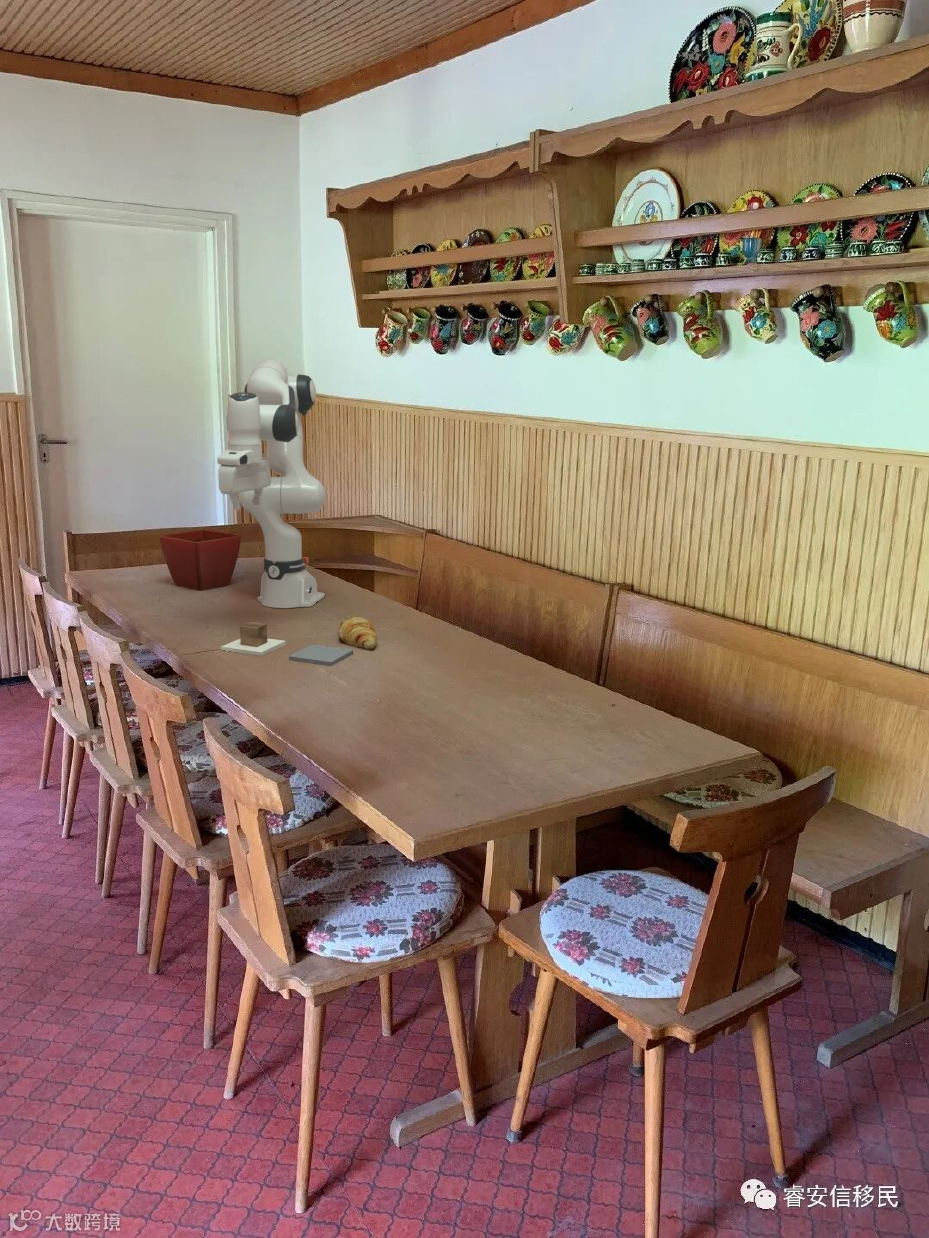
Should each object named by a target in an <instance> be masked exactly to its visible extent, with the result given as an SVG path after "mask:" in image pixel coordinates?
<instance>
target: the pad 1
mask: <svg viewBox="0 0 929 1238" xmlns="http://www.w3.org/2000/svg"><path fill="white" fill-rule="evenodd" d="M286 643H287V641H286V640H283V639H282V640H281V639H276V638H275V639H274V638H268V637H267V643H265V644H263V645H261V646H259V647H252V646H245V645H241V643H240V638H238V639H236V640H234V641H232V642H229V643H226V644H224V645H221V646H220V648H221V649H220V650H221V651H222V650H225V651H224V652H229V651H231V653H236V652H237V653H238V654H244V655H251V656H259V657H263V656H265V655H267V654H269V653H271V652H273V651H275V650H278V649H279V648H282V647H284V646H286V645H285V644H286ZM237 653H236V654H237Z"/></svg>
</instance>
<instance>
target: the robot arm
mask: <svg viewBox="0 0 929 1238" xmlns="http://www.w3.org/2000/svg"><path fill="white" fill-rule="evenodd" d="M316 398H317V389H316V385H315V383H314V381H313V378H311V377H310V375H307V374H301V373H300V374H297V375H294V374H292V375H291V374H288V371H287V369H286V367H285V365H284V364H283V363H282V362H281V361H278V360H277V359H274V358H273V359H272V358H269V359H264V360H263V361H261V362H260V363H259V364H257V366H255V367H254V369H253V371H251V374H250V375H249V377H248V380H247V383H246V384H245V386H244V390H243V392H242V391H241V392H236V393H232V394H231V395H230V396H229V397H228V401H227V402H228V403H227V409H226V410H227V414H226V429H227V431H228V441H227V448H226V449H225V450H224V451H223V452H221V454H219V455H218V456H217V458H216V460H217V465H220V466H219V467H218V472H217V473H218V476H217V477H218V478H217V479H218V488H219V491H220V493H221V494H222V495H228V496H229V499H230V502H231V503H232V510H234V511H240V510H242V508H243V509H244V510H245V511H246V512H248V513H249V514H250V515H251V516H253V518H254V519H255V520H256V521H257V522H258V524H259V527H260V528H261V532H262V534H263V542H264V554H265V555H264V556H265V557H264V559H263V569H264V571H265V572H264V573H262V575H261V581H260V582H261V583H260V596H258V597H257V601H258V602H260V604H261V605H263V606H264V607H267V608H268V607H269V608H274V609H291V608H301V607H302V608H305V607H312V606H313V605H315V604H317V603H318V602H319V601H321V600H322V599H323V598H325V597H324V596H325V593H324V592H321V591H318V583H317V578H315V577H314V576H313V575H312V574H311V573H310V572H309V571H308V570H307V569H306V565H305V564H309V562H310V559H309V557H308V556H303V555H302V554H303V552H302V551H303V550H302V549H303V546H302V538H303V537H302V534H301V532H300V530H299V529H298V528H296V527H294V526H293V525H291V524H289V523H286V522H285V521H284V519H282V516H281V515H282V514H290V515H292V514H295V515H297V514H299V515H303V514H311V513H315V512H319V511H320V510H321V509H322V508H323V506H324V504H325V502H326V498H327V497H326V496H327V495H326V489H325V486H324V485H323V483H322V482H321V481H320V480H319V479H317V478H316V477H314V476H313V475H312V474H310V472H309V471H308V470H307V467H306V466H305V463H304V454H303V453H304V433H303V432H304V431H303V424H302V419H301V414H302V416H303V417H304V416H306V415H307V414H308V412H309V411H310V410H312V407H313V406H314V405H315V403H316ZM262 441H266V451H265V452H266V454H265V453H264V452H263V445H262V444H263V443H262ZM271 471H272V472H273V473H274V474H277V475H279V476H272V474H271V473H272V472H271ZM317 601H318V602H317ZM316 602H317V603H316Z"/></svg>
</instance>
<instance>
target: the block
mask: <svg viewBox="0 0 929 1238" xmlns="http://www.w3.org/2000/svg"><path fill="white" fill-rule="evenodd" d="M239 634H240V635H239V639H240V643H241V645H245V646H252V647H259V646H261V645H263V644H265V643H267V638H268V624H267V623H263V622H262V623H261V622H254V621H250V622H247V623H245V624H242V625H239Z"/></svg>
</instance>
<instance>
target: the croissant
mask: <svg viewBox="0 0 929 1238" xmlns="http://www.w3.org/2000/svg"><path fill="white" fill-rule="evenodd" d="M337 634H338V637H339V639H340V640H341V641H342V642H343V643H344V644H346V645H350V646H355V647H358V648H363V649H367V650H368V649H369V650H370V649H371V650H372V649H373V648H375V646H376V645H377V643H378V635H377V632H376V630H375V627H374V625H373V623H372V622H371V621H370V620H368V619H366V618H364V617H361V616H359V615H357V616H353V617H350V618H348V619H346V620H344V621H342V622H340V624H339V627H338V630H337Z"/></svg>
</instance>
